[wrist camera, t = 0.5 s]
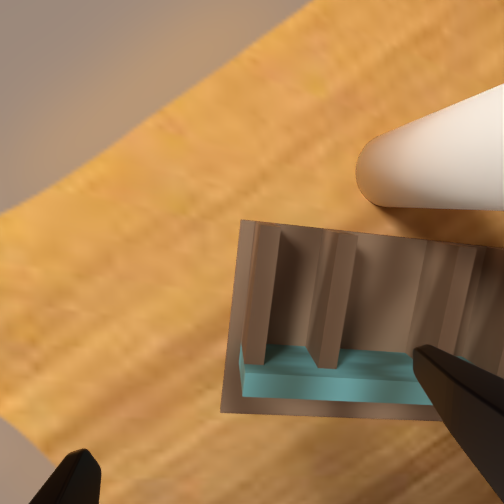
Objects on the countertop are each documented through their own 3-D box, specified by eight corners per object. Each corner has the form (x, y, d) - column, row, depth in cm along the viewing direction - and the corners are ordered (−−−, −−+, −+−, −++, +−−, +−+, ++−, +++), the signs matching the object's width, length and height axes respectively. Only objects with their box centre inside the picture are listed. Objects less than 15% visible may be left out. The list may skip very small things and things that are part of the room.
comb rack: (505, 248, 23) (573, 259, 19) (465, 417, 26) (518, 463, 21) (240, 219, 21) (246, 224, 17) (220, 407, 23) (220, 457, 19)
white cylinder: (434, 187, 22) (724, 168, 9) (371, 219, 22) (579, 243, 9) (409, 119, 21) (694, -3, 8) (344, 152, 21) (532, 78, 8)
